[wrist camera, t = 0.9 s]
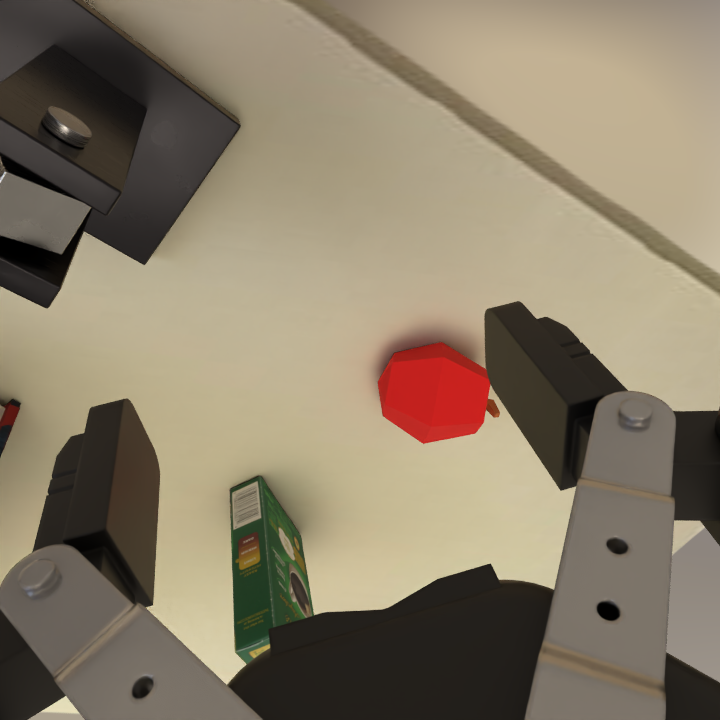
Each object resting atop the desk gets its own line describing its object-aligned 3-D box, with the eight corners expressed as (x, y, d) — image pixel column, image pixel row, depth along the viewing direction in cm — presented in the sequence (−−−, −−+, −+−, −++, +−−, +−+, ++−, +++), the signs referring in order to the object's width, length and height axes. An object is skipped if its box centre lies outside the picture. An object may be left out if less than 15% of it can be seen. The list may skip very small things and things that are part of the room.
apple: (362, 455, 38) (489, 481, 38) (381, 355, 36) (517, 381, 35) (373, 409, 44) (482, 430, 44) (389, 321, 42) (505, 343, 42)
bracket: (-99, 115, 27) (-279, 220, 17) (-12, -71, 25) (-163, -78, 14) (146, 255, 33) (122, 396, 23) (240, 119, 31) (260, 211, 20)
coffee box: (223, 486, 44) (231, 657, 34) (260, 470, 44) (279, 637, 34) (269, 547, 49) (288, 714, 38) (302, 533, 49) (330, 697, 38)
